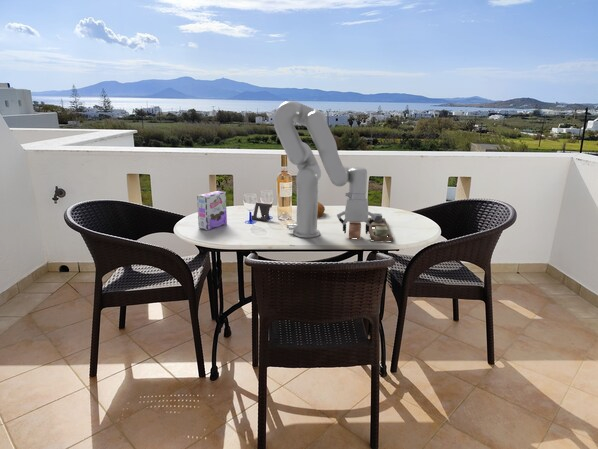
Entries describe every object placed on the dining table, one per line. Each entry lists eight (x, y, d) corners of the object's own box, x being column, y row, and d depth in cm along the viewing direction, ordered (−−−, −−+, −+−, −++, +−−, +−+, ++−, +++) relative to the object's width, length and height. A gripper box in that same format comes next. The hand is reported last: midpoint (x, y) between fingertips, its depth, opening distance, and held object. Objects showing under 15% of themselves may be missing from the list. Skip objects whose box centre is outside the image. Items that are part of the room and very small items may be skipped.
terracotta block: (348, 239, 177) (349, 224, 175) (348, 235, 182) (349, 221, 180) (360, 239, 176) (361, 224, 174) (359, 236, 181) (360, 221, 179)
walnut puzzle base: (371, 241, 174) (371, 230, 173) (366, 221, 205) (366, 211, 204) (392, 242, 174) (393, 231, 172) (384, 222, 205) (385, 212, 203)
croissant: (324, 215, 224) (325, 201, 223) (323, 218, 209) (324, 203, 207) (299, 213, 225) (300, 199, 224) (296, 216, 210) (297, 201, 209)
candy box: (207, 230, 184) (205, 196, 180) (198, 228, 187) (196, 194, 183) (227, 224, 195) (226, 191, 191) (218, 222, 199) (217, 190, 194)
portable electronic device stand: (250, 219, 204) (250, 204, 202) (258, 216, 211) (258, 200, 209) (265, 221, 201) (265, 206, 198) (273, 218, 208) (273, 202, 205)
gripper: (337, 197, 171) (336, 234, 175) (377, 198, 169) (375, 236, 174) (337, 193, 178) (336, 229, 183) (376, 194, 176) (374, 231, 181)
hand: (355, 232), depth 178 cm, fingers open, 9 cm apart
